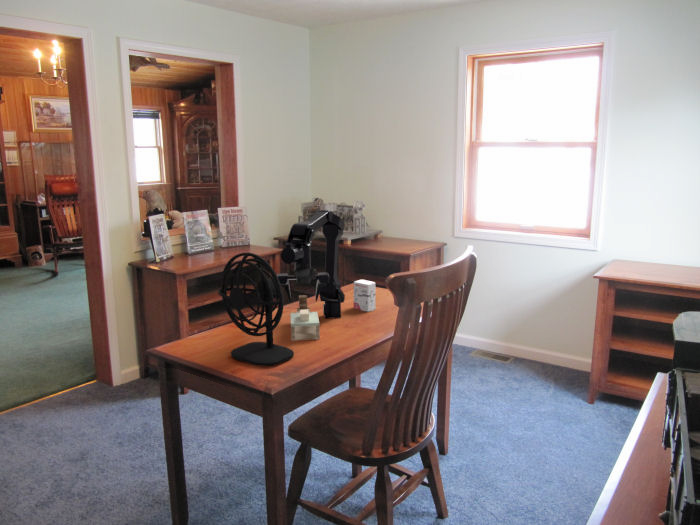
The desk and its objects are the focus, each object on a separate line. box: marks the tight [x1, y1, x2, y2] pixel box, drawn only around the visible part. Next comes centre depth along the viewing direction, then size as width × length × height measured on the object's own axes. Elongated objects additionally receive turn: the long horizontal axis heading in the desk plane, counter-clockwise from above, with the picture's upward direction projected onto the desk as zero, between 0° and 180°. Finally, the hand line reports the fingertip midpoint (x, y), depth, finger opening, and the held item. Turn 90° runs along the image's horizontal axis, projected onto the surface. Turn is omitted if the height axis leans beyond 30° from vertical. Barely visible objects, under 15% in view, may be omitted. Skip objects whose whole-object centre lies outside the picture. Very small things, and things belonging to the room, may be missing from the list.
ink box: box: [353, 279, 376, 313], centre depth 234 cm, size 9×5×12 cm, turn 47°
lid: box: [290, 309, 320, 328], centre depth 204 cm, size 10×14×4 cm
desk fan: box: [217, 252, 295, 367], centre depth 179 cm, size 27×18×35 cm, turn 54°
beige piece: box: [290, 306, 321, 341], centre depth 207 cm, size 10×20×6 cm, turn 7°
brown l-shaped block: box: [298, 294, 308, 310], centre depth 216 cm, size 3×7×4 cm, turn 7°
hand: (303, 301), depth 202 cm, fingers open, 9 cm apart
